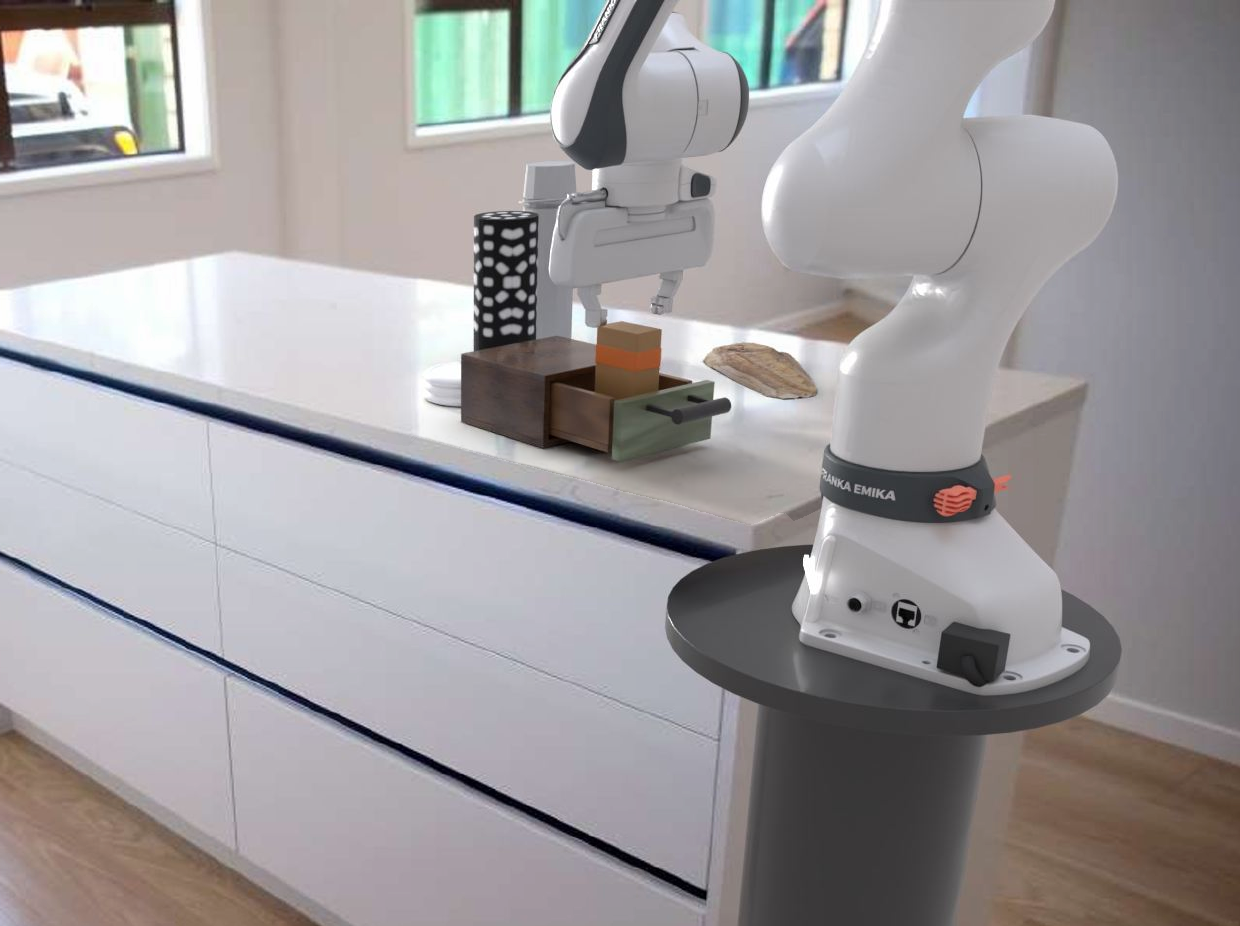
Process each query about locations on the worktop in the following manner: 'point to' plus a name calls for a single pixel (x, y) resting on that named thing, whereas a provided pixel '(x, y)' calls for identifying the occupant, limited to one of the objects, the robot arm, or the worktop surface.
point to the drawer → (634, 415)
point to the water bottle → (549, 242)
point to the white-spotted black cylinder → (505, 278)
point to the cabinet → (520, 385)
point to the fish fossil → (762, 370)
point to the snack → (627, 359)
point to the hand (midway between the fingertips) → (628, 319)
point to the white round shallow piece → (443, 384)
